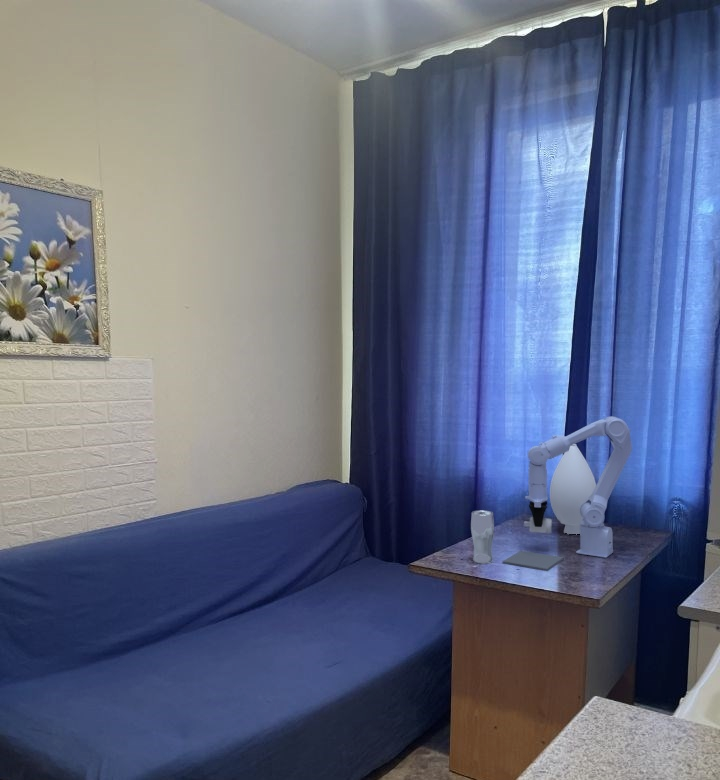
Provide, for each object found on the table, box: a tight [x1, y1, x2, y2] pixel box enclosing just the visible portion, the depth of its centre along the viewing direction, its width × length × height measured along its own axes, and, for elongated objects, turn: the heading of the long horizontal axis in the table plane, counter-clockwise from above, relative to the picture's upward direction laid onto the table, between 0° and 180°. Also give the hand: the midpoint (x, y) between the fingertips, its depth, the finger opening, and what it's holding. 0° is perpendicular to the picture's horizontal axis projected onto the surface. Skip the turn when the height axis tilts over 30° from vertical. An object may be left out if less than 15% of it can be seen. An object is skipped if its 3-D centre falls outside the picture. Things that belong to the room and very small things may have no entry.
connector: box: [523, 516, 553, 534], centre depth 208 cm, size 8×4×4 cm, turn 73°
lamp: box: [549, 443, 597, 536], centre depth 230 cm, size 16×16×35 cm
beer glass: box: [470, 509, 495, 565], centre depth 198 cm, size 7×7×15 cm
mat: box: [501, 550, 565, 572], centre depth 197 cm, size 14×14×1 cm
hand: (538, 525), depth 208 cm, fingers closed on connector, 3 cm apart
